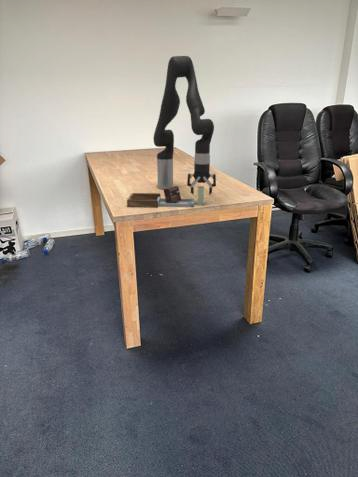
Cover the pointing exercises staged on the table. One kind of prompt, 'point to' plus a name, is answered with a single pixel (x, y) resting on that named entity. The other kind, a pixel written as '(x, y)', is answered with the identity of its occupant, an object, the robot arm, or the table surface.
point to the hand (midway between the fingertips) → (201, 194)
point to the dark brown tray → (143, 200)
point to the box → (172, 194)
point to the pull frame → (184, 200)
